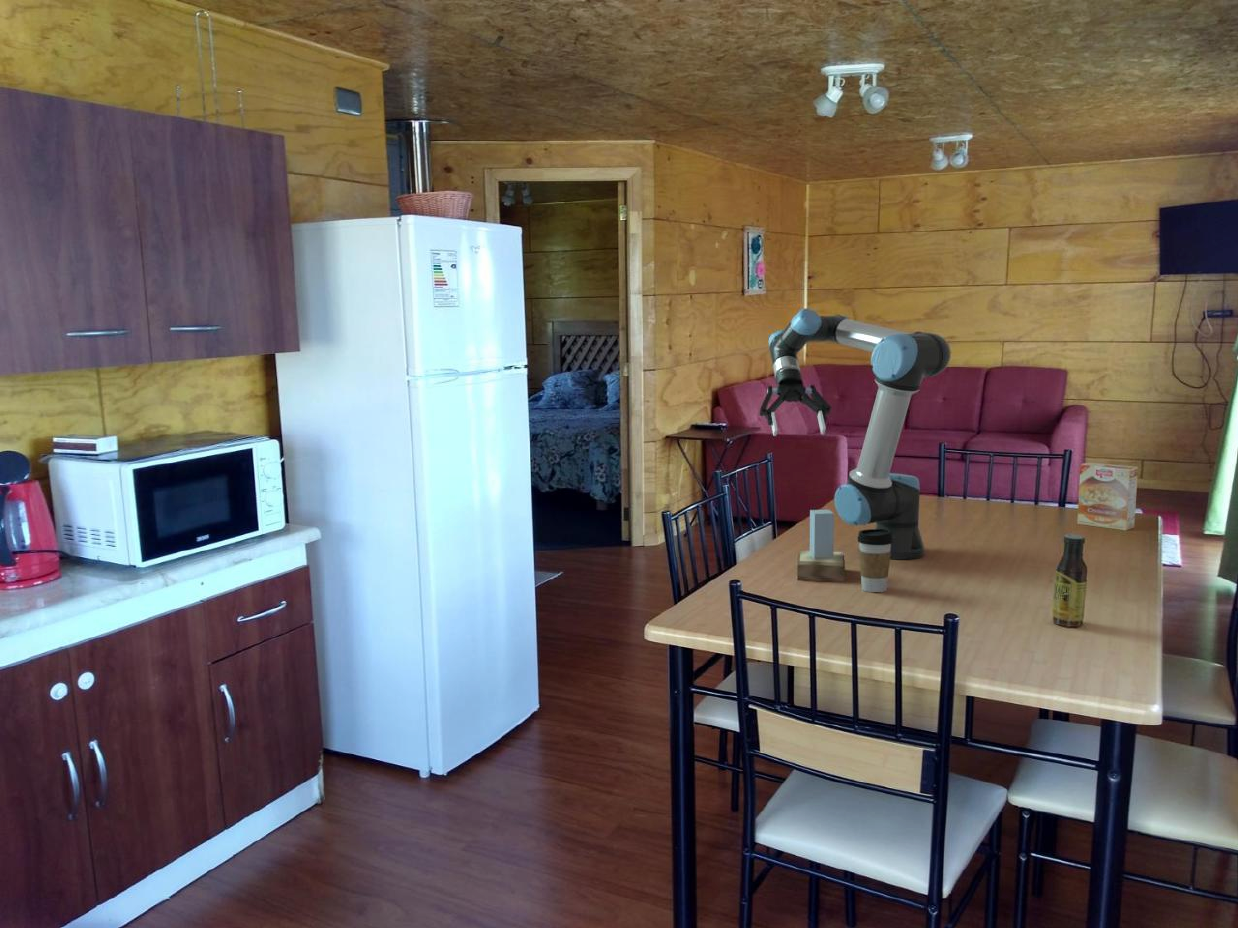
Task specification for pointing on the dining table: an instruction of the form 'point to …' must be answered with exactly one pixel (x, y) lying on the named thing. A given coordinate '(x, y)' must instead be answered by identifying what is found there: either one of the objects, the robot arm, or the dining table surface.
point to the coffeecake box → (1107, 495)
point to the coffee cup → (874, 558)
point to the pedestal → (821, 567)
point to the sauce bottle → (1070, 584)
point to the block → (821, 534)
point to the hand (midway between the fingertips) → (799, 432)
